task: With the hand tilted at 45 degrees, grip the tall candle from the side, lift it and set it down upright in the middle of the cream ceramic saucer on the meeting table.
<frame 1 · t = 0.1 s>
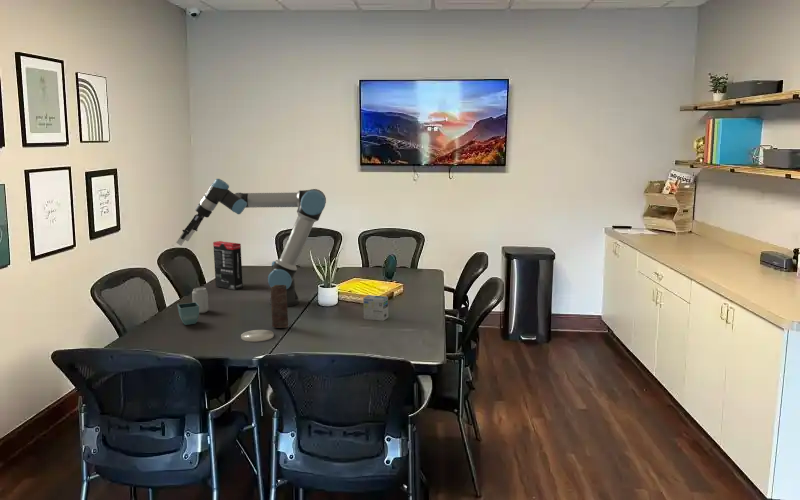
hand: (182, 242, 325), 36 cm above the table, tool tilted 35°, fingers open, 13 cm apart
light bulb box: (376, 318, 317), on the table
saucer: (257, 336, 288), on the table
can: (200, 312, 332), on the table
candle: (280, 328, 302), on the table
flower pot: (189, 323, 310), on the table
graphics card box: (229, 288, 386), on the table
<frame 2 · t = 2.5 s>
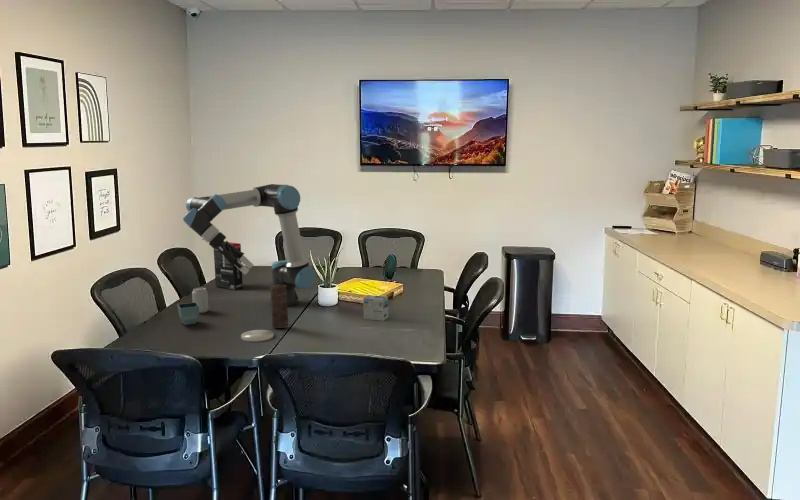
hand: (249, 269, 295), 28 cm above the table, tool tilted 45°, fingers open, 13 cm apart
nothing on the table moved.
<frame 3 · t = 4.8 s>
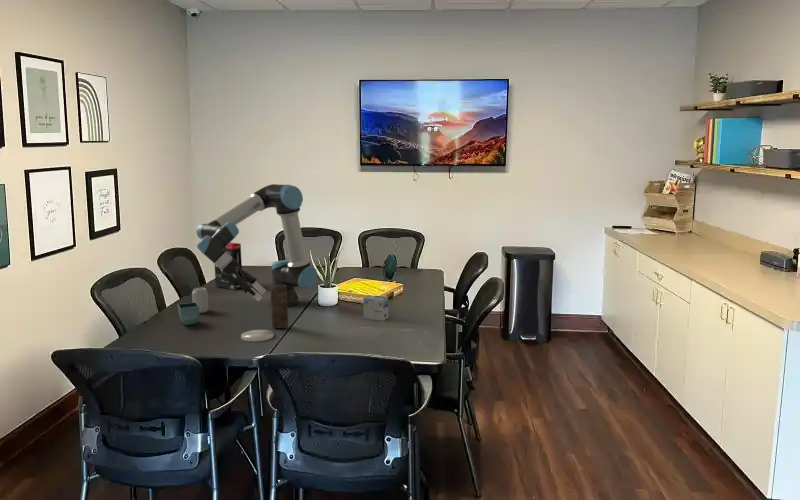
hand: (262, 296, 297), 16 cm above the table, tool tilted 45°, fingers open, 13 cm apart
nothing on the table moved.
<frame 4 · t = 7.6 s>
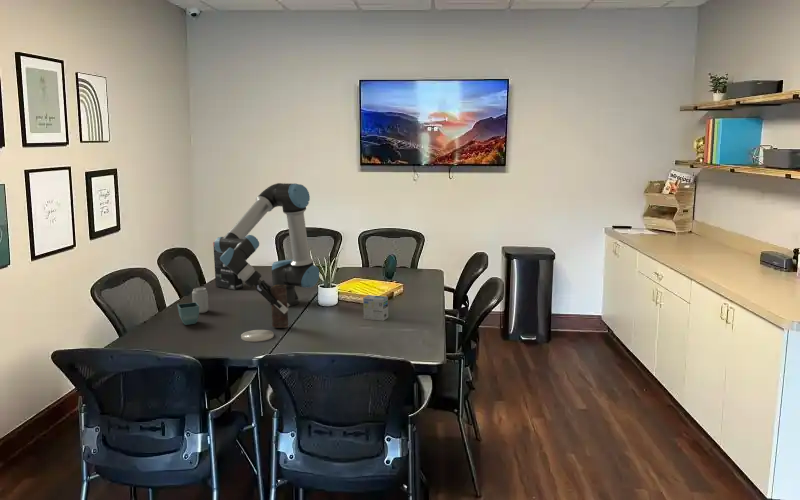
hand: (287, 309, 301), 9 cm above the table, tool tilted 45°, fingers closed on candle, 7 cm apart
candle: (280, 328, 302), on the table, touching gripper
everything else where it was.
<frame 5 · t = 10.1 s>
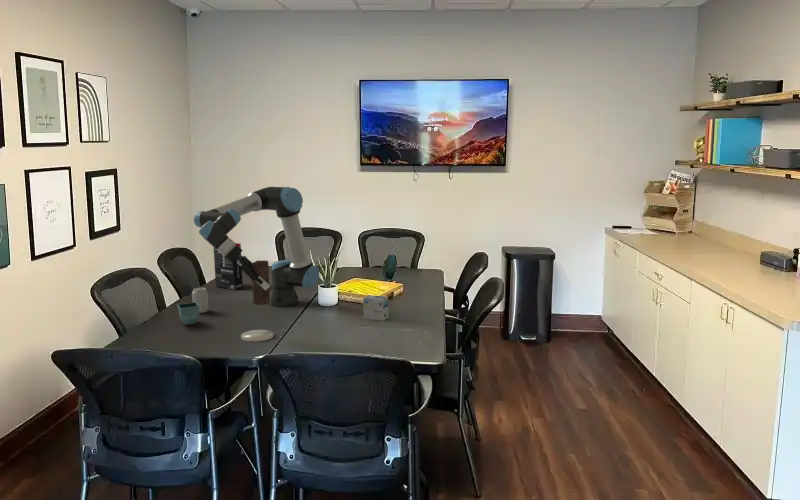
hand: (268, 286, 288), 22 cm above the table, tool tilted 45°, fingers closed on candle, 7 cm apart
candle: (261, 305, 289), point 13 cm above the table, touching gripper
everything else where it was.
when the fingers open (11 cm above the table, at t = 13.0 s): candle drops 1 cm, resting on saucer.
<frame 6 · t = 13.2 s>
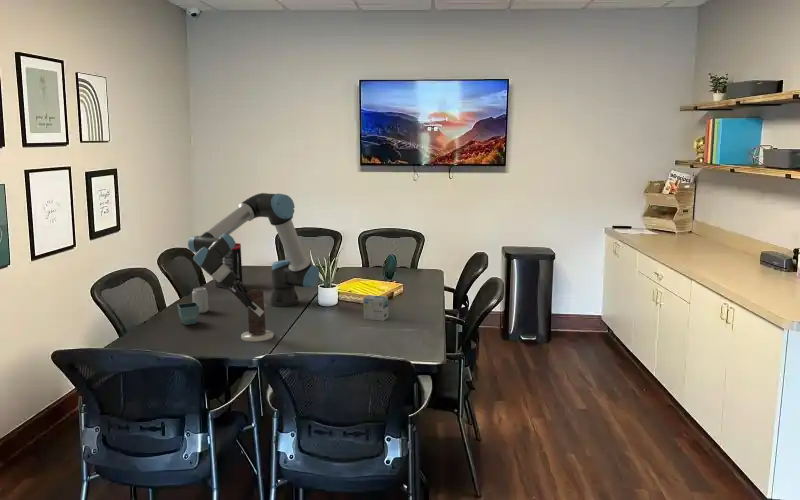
hand: (263, 311, 286), 12 cm above the table, tool tilted 45°, fingers open, 10 cm apart
candle: (257, 334, 287), point 1 cm above the table, touching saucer
everything else where it was.
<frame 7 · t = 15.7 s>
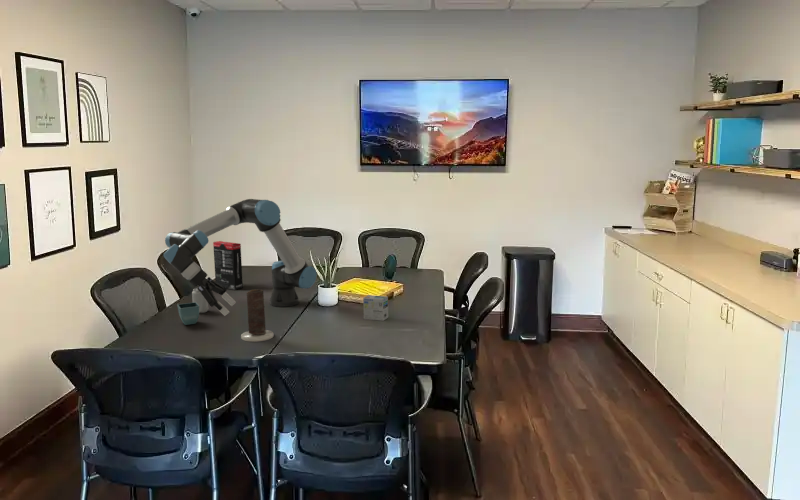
hand: (230, 309, 286), 13 cm above the table, tool tilted 40°, fingers open, 13 cm apart
nothing on the table moved.
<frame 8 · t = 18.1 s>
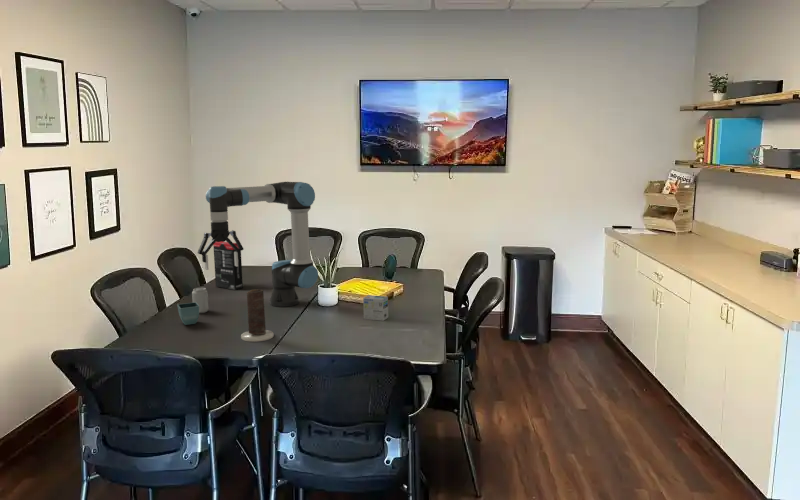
hand: (221, 267, 295), 29 cm above the table, tool pointing down, fingers open, 13 cm apart
nothing on the table moved.
at the end: candle inside the target area on the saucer (0.3 cm from its centre), point 1.0 cm above the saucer's base; candle tilted 0°; the gripper is holding nothing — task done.
